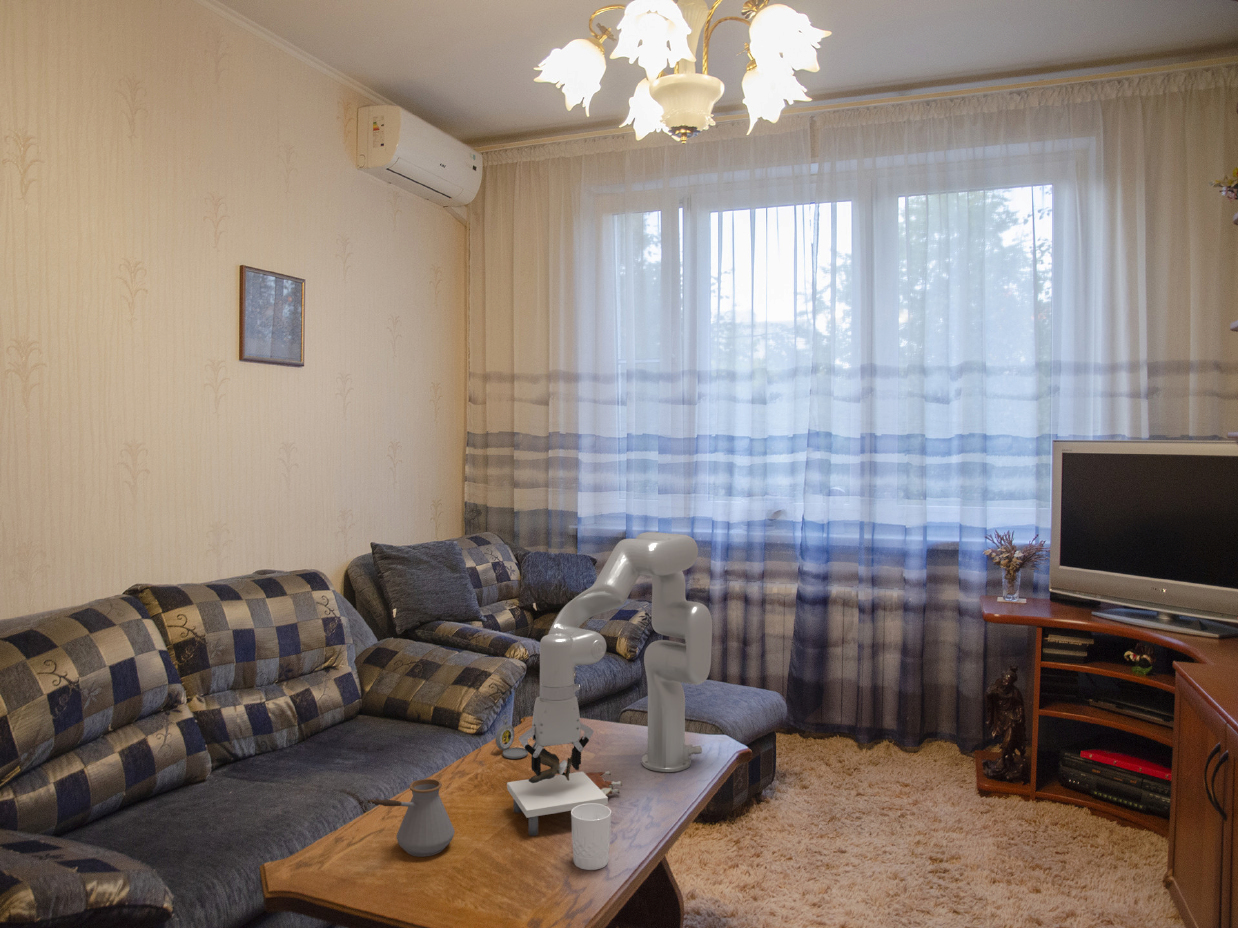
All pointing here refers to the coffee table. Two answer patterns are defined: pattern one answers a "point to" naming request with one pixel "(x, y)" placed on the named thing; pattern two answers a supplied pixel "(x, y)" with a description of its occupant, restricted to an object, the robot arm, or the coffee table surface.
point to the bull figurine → (603, 782)
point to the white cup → (591, 835)
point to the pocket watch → (508, 742)
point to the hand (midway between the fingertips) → (556, 770)
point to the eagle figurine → (552, 766)
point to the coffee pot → (422, 819)
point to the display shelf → (553, 796)
